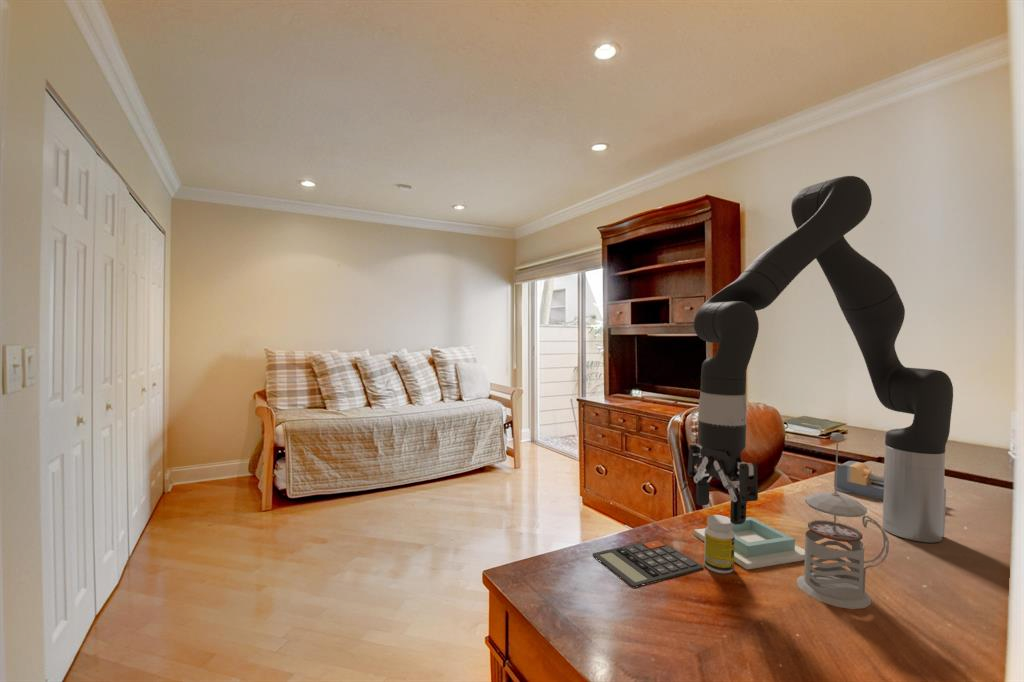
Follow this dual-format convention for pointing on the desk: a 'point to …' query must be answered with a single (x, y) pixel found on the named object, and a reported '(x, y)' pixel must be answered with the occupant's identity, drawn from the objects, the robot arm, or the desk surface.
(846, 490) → the vise
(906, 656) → the desk surface
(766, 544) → the dock socket
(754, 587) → the desk surface
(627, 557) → the calculator
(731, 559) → the supplement bottle
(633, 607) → the desk surface
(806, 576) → the french press
